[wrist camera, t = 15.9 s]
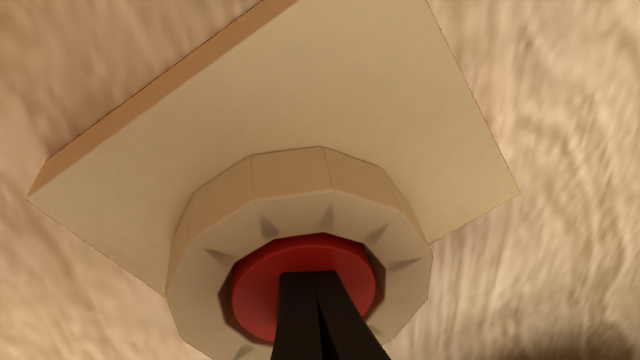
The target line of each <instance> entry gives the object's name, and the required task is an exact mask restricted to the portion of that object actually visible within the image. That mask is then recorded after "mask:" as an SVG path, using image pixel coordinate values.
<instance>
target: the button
mask: <svg viewBox="0 0 640 360" xmlns="http://www.w3.org/2000/svg"><path fill="white" fill-rule="evenodd" d="M325 270H334V271H336V272H337V273H338V275H339V277H340V279H341V281H342V283H343V285H344V287H345V289H346V290H347V292H348V294H349V296H350V297H351V299H352V301H353V303H354V304H355V306H356V308H357V309H358V311H359V313H360V314H361V316H363V315H364V314H365V313H366V312H367V310H368V309H369V307H370V305H371V303H372V301H373V298H374V295H375V288H376V286H375V278H374V275H373V272H372V269H371V265H370V262H369V259H368V256H367V253H366V250H365V247H364V244H363V243H360V242H356V241H353V240H349V239H346V238H342V237H339V236H335V235H332V234H328V233H325V232H320V233H313V234H306V235H299V236H292V237H285V238H278V239H273V240H272V241H270V242H268V243H267V244H265V245H263V246H262V247H260V248H258V249H257V250H255V251H253V252H252V253H250V254H248V255H247V256H245V257H243V258H242V259H240V260H238V261H237V262H235V263H234V265H233V267H232V268H231V303H232V309H233V312H234V315H235V317H236V318H237V320H238V322H239V323H240V324H241V325H242V327H244V328H245V329H246V330H247V331H248V332H250V333H251V334H253V335H255V336H257V337H259V338H261V339H264V340H267V341H271V342H274V340H275V334H276V322H277V306H278V290H279V276H280V275H281V274H283V273H284V272H303V271H325Z"/></svg>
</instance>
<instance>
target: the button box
mask: <svg viewBox="0 0 640 360" xmlns="http://www.w3.org/2000/svg"><path fill="white" fill-rule="evenodd" d="M519 194H520V190H519V188H518V186H517V184H516V182H515V179H514V177H513V175H512V173H511V171H510V169H509V167H508V165H507V163H506V161H505V159H504V157H503V155H502V153H501V151H500V149H499V147H498V145H497V143H496V141H495V139H494V137H493V135H492V133H491V131H490V129H489V127H488V125H487V122H486V120H485V118H484V116H483V114H482V112H481V110H480V108H479V106H478V104H477V102H476V100H475V98H474V96H473V94H472V92H471V90H470V88H469V86H468V84H467V82H466V80H465V78H464V76H463V74H462V72H461V70H460V68H459V66H458V63H457V61H456V59H455V57H454V55H453V53H452V51H451V49H450V47H449V45H448V43H447V41H446V39H445V37H444V35H443V33H442V31H441V29H440V27H439V25H438V23H437V21H436V19H435V17H434V15H433V13H432V11H431V9H430V6H429V4H428V2H427V0H263V1H261V2H260V3H259V4H257V5H256V6H254V7H253V8H252V9H250V10H249V11H248V12H246V13H245V14H244V15H242V16H241V17H240V18H238V19H237V20H236V21H234V22H233V23H231V24H230V25H229V26H227V27H226V28H225V29H223V30H222V31H221V32H219V33H218V34H217V35H215V36H214V37H213V38H211V39H210V40H208V41H207V42H206V43H204V44H203V45H202V46H200V47H199V48H198V49H196V50H195V51H194V52H192V53H191V54H190V55H188V56H187V57H185V58H184V59H183V60H181V61H180V62H179V63H177V64H176V65H175V66H173V67H172V68H171V69H169V70H168V71H167V72H165V73H164V74H162V75H161V76H160V77H158V78H157V79H156V80H154V81H153V82H152V83H150V84H149V85H148V86H146V87H145V88H144V89H142V90H141V91H139V92H138V93H137V94H135V95H134V96H133V97H131V98H130V99H129V100H127V101H126V102H125V103H123V104H122V105H121V106H119V107H118V108H116V109H115V110H114V111H112V112H111V113H110V114H108V115H107V116H106V117H104V118H103V119H102V120H100V121H99V122H98V123H96V124H95V125H93V126H92V127H91V128H89V129H88V130H87V131H85V132H84V133H83V134H81V135H80V136H79V137H77V138H76V139H75V140H73V141H72V142H70V143H69V144H68V145H66V146H65V147H64V148H62V149H61V150H60V151H58V152H57V153H56V154H54V155H53V156H52V157H50V158H49V159H47V160H46V162H45V164H44V166H43V167H42V169H41V171H40V173H39V174H38V176H37V178H36V180H35V182H34V183H33V185H32V187H31V189H30V190H29V192H28V194H27V196H26V198H25V200H26V201H28V202H29V203H31V204H32V205H33V206H35V207H36V208H38V209H39V210H41V211H42V212H43V213H45V214H46V215H48V216H49V217H51V218H52V219H53V220H55V221H56V222H58V223H59V224H61V225H62V226H64V227H65V228H66V229H68V230H69V231H71V232H72V233H74V234H75V235H76V236H78V237H79V238H81V239H82V240H84V241H85V242H87V243H88V244H89V245H91V246H92V247H94V248H95V249H97V250H98V251H99V252H101V253H102V254H104V255H105V256H107V257H108V258H110V259H111V260H112V261H114V262H115V263H117V264H118V265H120V266H121V267H122V268H124V269H125V270H127V271H128V272H130V273H131V274H132V275H134V276H135V277H137V278H138V279H140V280H141V281H143V282H144V283H145V284H147V285H148V286H150V287H151V288H153V289H154V290H155V291H157V292H158V293H160V294H161V295H163V296H164V297H166V299H167V301H168V304H169V307H170V310H171V313H172V315H173V318H174V321H175V324H176V327H177V329H178V332H179V335H180V337H181V338H182V340H184V341H185V342H187V343H188V344H190V345H191V346H193V347H194V348H196V349H197V350H199V351H201V352H202V353H204V354H205V355H207V356H208V357H210V358H211V359H213V360H270V358H271V354H272V350H273V345H274V342H271V341H267V340H264V339H261V338H259V337H257V336H255V335H253V334H251V333H250V332H248V331H247V330H246V329H245V328H244V327H242V325H241V324H240V323H239V322H238V320H237V318H236V317H235V315H234V312H233V309H232V303H231V268H232V267H233V265H234V263H235V262H237V261H238V260H240V259H242V258H243V257H245V256H247V255H248V254H250V253H252V252H253V251H255V250H257V249H258V248H260V247H262V246H263V245H265V244H267V243H268V242H270V241H272V240H273V239H278V238H285V237H292V236H299V235H306V234H313V233H320V232H325V233H328V234H332V235H335V236H339V237H342V238H346V239H349V240H353V241H356V242H360V243H363V244H364V247H365V250H366V253H367V256H368V259H369V262H370V265H371V269H372V272H373V275H374V278H375V286H376V288H375V295H374V298H373V301H372V303H371V305H370V307H369V309H368V310H367V312H366V313H365V314H364V315H363V316H362V317H363V319H364V321H365V322H366V324H367V325H368V327H369V328H370V330H371V331H372V333H373V334H374V336H375V337H376V339H377V340H378V342H379V343H380V345H383V344H385V343H387V342H389V341H391V340H392V338H395V337H396V335H397V334H398V333H399V332H400V331H401V330H402V328H403V327H404V326H405V325H406V324H407V323H408V321H409V320H410V319H411V318H412V317H413V316H414V314H415V313H416V312H417V311H418V310H419V309H420V307H421V306H422V305H423V304H424V303H425V301H426V300H427V299H428V291H429V283H430V275H431V267H432V259H433V253H432V250H431V247H430V245H429V244H430V243H432V242H434V241H436V240H438V239H439V238H441V237H443V236H445V235H447V234H448V233H450V232H452V231H454V230H456V229H457V228H459V227H461V226H463V225H465V224H466V223H468V222H470V221H472V220H474V219H476V218H477V217H479V216H481V215H483V214H485V213H486V212H488V211H490V210H492V209H494V208H495V207H497V206H499V205H501V204H503V203H504V202H506V201H508V200H510V199H512V198H514V197H515V196H517V195H519Z"/></svg>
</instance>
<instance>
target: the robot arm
mask: <svg viewBox="0 0 640 360" xmlns="http://www.w3.org/2000/svg"><path fill="white" fill-rule="evenodd" d="M270 360H391V359H390V357H389V356H388V355H387V353H386V352H385V350H384V349H383V348H382V346H381V345H380V343H379V342H378V340H377V339H376V337H375V336H374V334H373V333H372V331H371V330H370V328H369V327H368V325H367V324H366V322H365V321H364V319H363V317H362V316H361V314H360V313H359V311H358V309H357V308H356V306H355V304H354V303H353V301H352V299H351V297H350V296H349V294H348V292H347V290H346V289H345V287H344V285H343V283H342V281H341V279H340V277H339V275H338V273H337V272H336V271H334V270H325V271H303V272H284V273H283V274H281V275H280V276H279V290H278V306H277V322H276V334H275V340H274V345H273V350H272V354H271V358H270Z"/></svg>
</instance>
